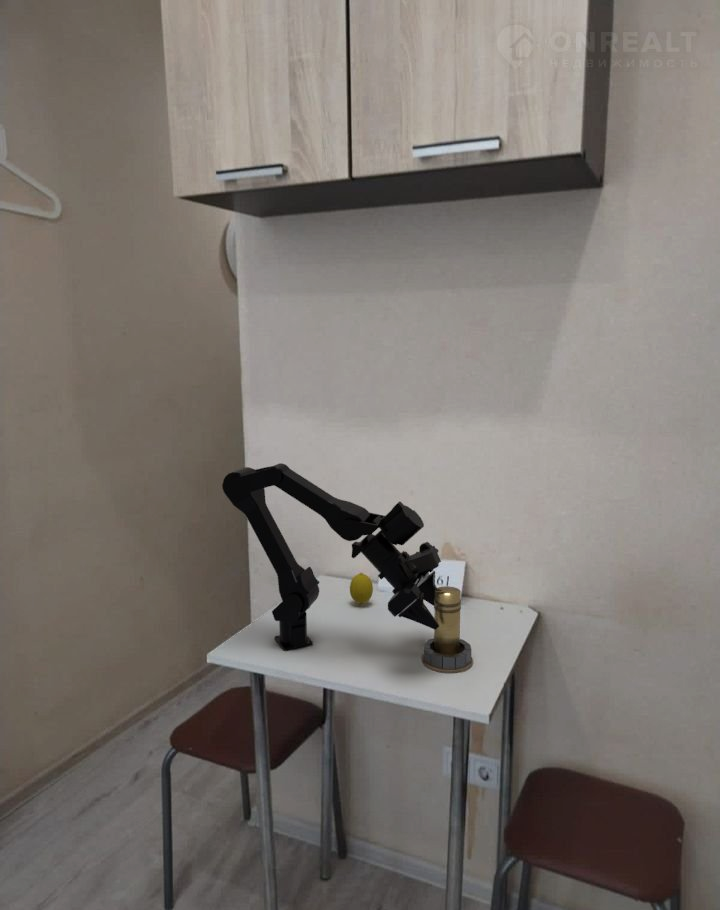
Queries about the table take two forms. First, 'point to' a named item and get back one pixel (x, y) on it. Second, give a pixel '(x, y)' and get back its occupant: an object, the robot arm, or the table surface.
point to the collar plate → (446, 670)
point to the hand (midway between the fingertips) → (441, 618)
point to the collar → (447, 656)
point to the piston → (447, 620)
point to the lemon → (361, 588)
